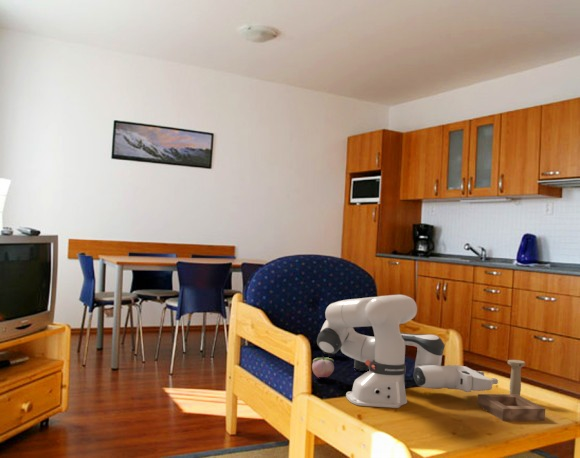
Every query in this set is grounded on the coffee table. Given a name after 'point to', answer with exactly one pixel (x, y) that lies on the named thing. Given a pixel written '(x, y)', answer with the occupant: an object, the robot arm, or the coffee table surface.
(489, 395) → the collar
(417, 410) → the coffee table surface
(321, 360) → the decorative fruit
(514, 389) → the beige bolt
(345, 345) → the robot arm
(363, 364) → the supplement bottle
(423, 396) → the coffee table surface
